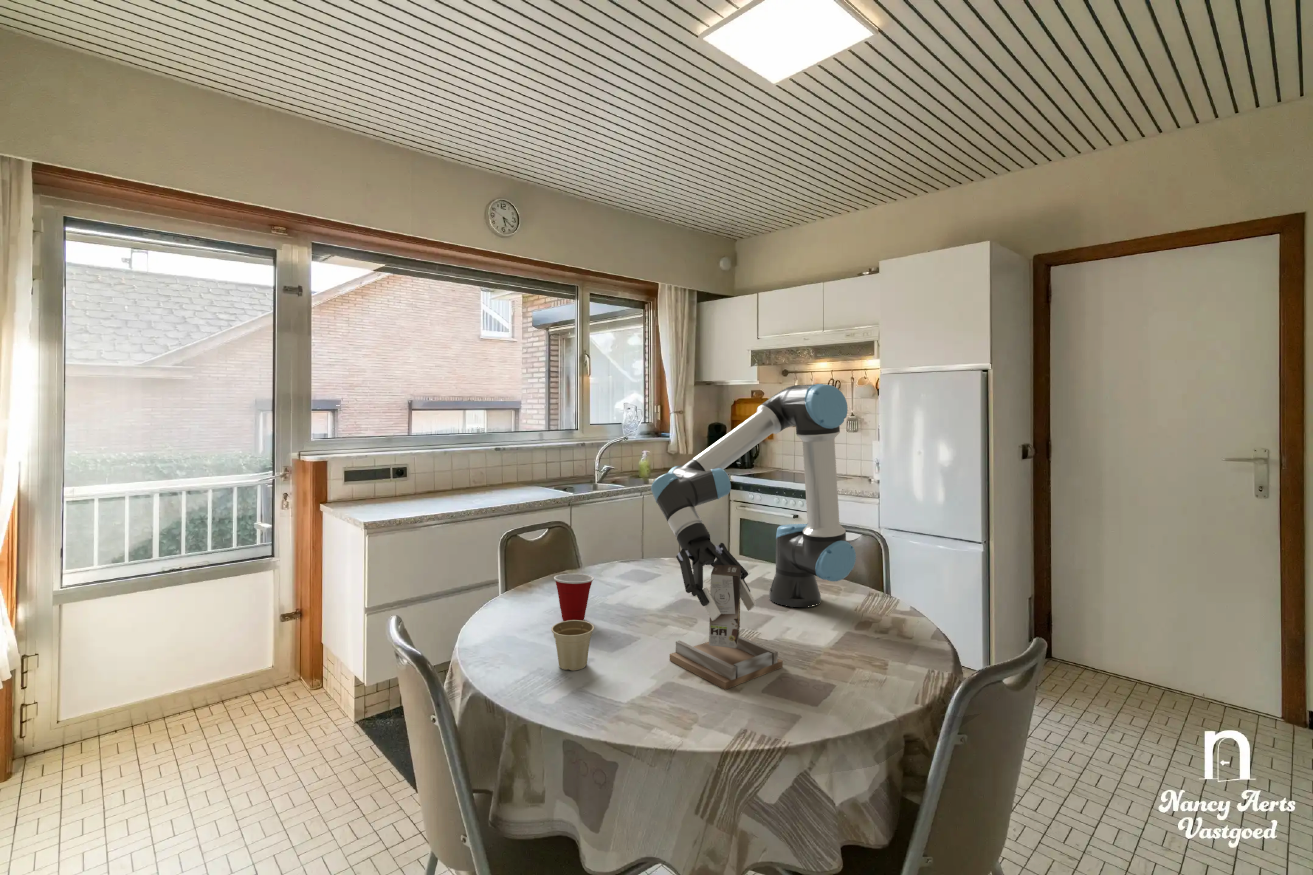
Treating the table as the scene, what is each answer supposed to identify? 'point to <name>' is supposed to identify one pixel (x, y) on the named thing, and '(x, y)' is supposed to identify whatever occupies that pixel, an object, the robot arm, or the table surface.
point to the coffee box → (725, 605)
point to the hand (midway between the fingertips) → (734, 612)
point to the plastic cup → (573, 595)
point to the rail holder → (727, 661)
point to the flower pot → (572, 643)
